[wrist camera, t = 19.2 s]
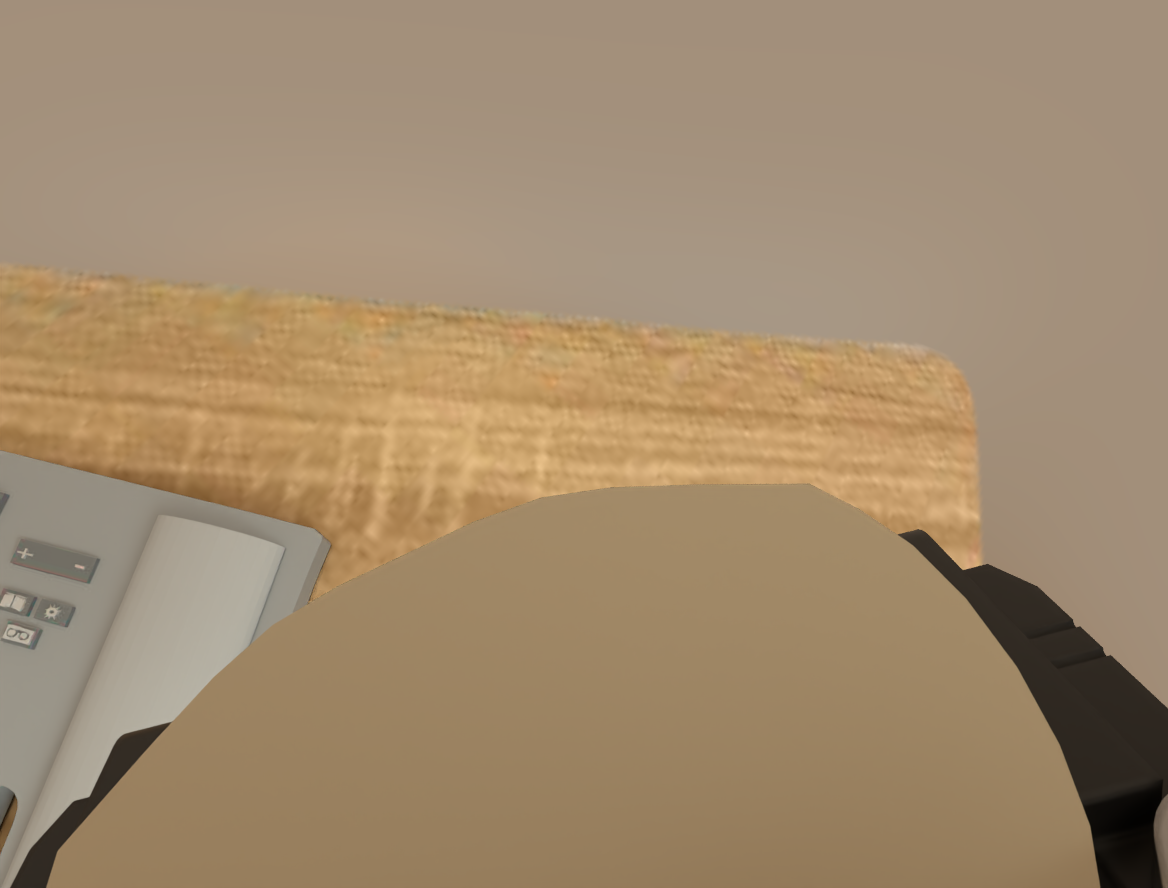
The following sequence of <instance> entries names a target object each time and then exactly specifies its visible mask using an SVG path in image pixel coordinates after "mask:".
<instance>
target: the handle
mask: <svg viewBox="0 0 1168 888" xmlns="http://www.w3.org/2000/svg"><path fill="white" fill-rule="evenodd" d="M46 888H1100V882H1099V876H1098V870H1097V864H1096V858H1095V852H1094V846H1093V840H1092V834H1091V828H1090V824H1089V822H1088V819H1087V816H1086V814H1085V811H1084V808H1083V806H1082V803H1081V800H1080V798H1079V795H1078V792H1077V790H1076V787H1075V784H1074V782H1073V779H1072V776H1071V774H1070V771H1069V768H1068V766H1067V763H1066V760H1065V758H1064V755H1063V752H1062V750H1061V747H1060V745H1059V743H1058V741H1057V739H1056V737H1055V735H1054V734H1053V732H1052V730H1051V728H1050V726H1049V724H1048V723H1047V721H1046V719H1045V717H1044V715H1043V714H1042V712H1041V710H1040V708H1039V706H1038V704H1037V703H1036V701H1035V699H1034V697H1033V695H1032V693H1031V692H1030V690H1029V688H1028V686H1027V684H1026V682H1025V681H1024V679H1023V677H1022V675H1021V673H1020V672H1019V670H1018V668H1017V666H1016V665H1015V664H1014V662H1013V661H1012V660H1011V658H1010V657H1009V656H1008V654H1007V653H1006V652H1005V650H1004V649H1003V648H1002V646H1001V645H1000V643H999V642H998V641H997V639H996V638H995V637H994V635H993V634H992V633H991V631H990V630H989V629H988V627H987V626H986V625H985V623H984V622H983V621H982V619H981V618H980V617H979V615H978V614H977V613H976V611H975V610H974V609H973V607H972V606H971V605H970V603H969V602H968V601H967V599H966V598H965V597H964V596H963V595H962V594H961V593H960V592H959V591H958V590H957V589H956V588H955V587H954V586H953V585H952V584H951V583H950V582H949V581H948V580H947V579H946V578H945V577H944V576H943V575H942V574H941V573H940V572H939V571H938V570H937V569H936V568H935V567H934V566H933V565H932V564H931V563H930V562H929V561H928V560H927V559H926V558H925V557H924V556H923V555H922V554H921V553H920V552H919V551H918V550H917V549H916V548H915V547H914V546H913V545H912V544H910V543H909V542H907V541H906V540H904V539H903V538H901V537H900V536H898V535H897V534H895V533H894V532H892V531H891V530H890V529H888V528H887V527H885V526H884V525H882V524H881V523H879V522H878V521H876V520H875V519H873V518H872V517H870V516H869V515H867V514H866V513H864V512H863V511H861V510H860V509H858V508H856V507H854V506H852V505H850V504H848V503H846V502H844V501H842V500H840V499H838V498H836V497H834V496H832V495H830V494H828V493H826V492H824V491H822V490H821V489H819V488H817V487H815V486H813V485H811V484H702V485H668V486H638V487H611V488H604V489H597V490H590V491H583V492H576V493H569V494H563V495H556V496H549V497H542V498H539V499H536V500H533V501H530V502H528V503H525V504H522V505H519V506H516V507H514V508H511V509H508V510H505V511H502V512H500V513H497V514H494V515H491V516H489V517H486V518H483V519H480V520H477V521H475V522H472V523H470V524H468V525H466V526H464V527H462V528H460V529H457V530H455V531H453V532H451V533H449V534H447V535H445V536H443V537H441V538H438V539H436V540H434V541H432V542H430V543H428V544H426V545H424V546H422V547H419V548H417V549H415V550H413V551H411V552H409V553H407V554H405V555H403V556H400V557H398V558H396V559H394V560H392V561H390V562H388V563H386V564H383V565H381V566H379V567H377V568H375V569H373V570H371V571H369V572H367V573H364V574H362V575H360V576H358V577H356V578H354V579H352V580H350V581H348V582H345V583H343V584H341V585H339V586H337V587H335V588H334V589H332V590H330V591H329V592H327V593H325V594H324V595H322V596H320V597H319V598H317V599H315V600H314V601H312V602H310V603H309V604H307V605H305V606H304V607H302V608H300V609H299V610H297V611H295V612H293V613H292V614H290V615H288V616H287V617H285V618H283V619H282V620H280V621H278V622H277V623H275V624H273V625H272V626H271V627H270V628H268V629H267V630H266V631H265V632H264V633H263V634H262V635H261V636H259V637H258V638H257V639H256V640H255V641H254V642H253V643H252V644H250V645H249V646H248V647H247V648H246V649H245V650H244V651H243V652H241V653H240V654H239V655H238V656H237V657H236V658H235V659H233V660H232V661H231V662H230V663H229V664H228V665H227V666H226V667H224V668H223V669H222V670H221V671H220V672H219V673H218V674H217V675H215V676H214V677H213V678H212V679H211V680H210V682H209V683H208V684H207V685H206V686H205V687H204V688H203V689H202V690H201V691H200V692H199V693H198V695H197V696H196V697H195V698H194V699H193V700H192V701H191V702H190V703H189V704H188V705H187V706H186V708H185V709H184V710H183V711H182V712H181V713H180V714H179V715H178V716H177V717H176V718H175V719H174V721H173V722H172V723H171V724H170V725H169V726H168V727H167V728H166V729H165V730H164V731H163V732H162V734H161V735H160V736H159V737H158V738H157V739H156V740H155V741H154V742H153V743H152V744H151V745H150V747H149V748H148V749H147V750H146V751H145V752H144V753H143V754H142V756H141V757H140V758H139V759H138V760H137V761H136V762H135V764H134V765H133V766H132V767H131V768H130V769H129V770H128V771H127V773H126V774H125V775H124V776H123V777H122V778H121V779H120V781H119V782H118V783H117V784H116V785H115V786H114V787H113V789H112V790H111V791H110V792H109V793H108V794H107V795H106V796H105V798H104V799H103V800H102V801H101V802H100V803H99V804H98V806H97V807H96V808H95V809H94V810H93V811H92V812H91V814H90V815H89V816H88V817H87V818H86V819H85V820H84V822H83V823H82V824H81V825H80V826H79V827H78V828H77V829H76V831H75V832H74V833H73V834H72V835H71V836H70V837H69V839H68V840H67V841H66V842H65V843H64V844H63V845H62V847H61V848H60V849H59V850H58V851H57V855H56V858H55V861H54V864H53V868H52V871H51V874H50V877H49V881H48V884H47V887H46Z"/></svg>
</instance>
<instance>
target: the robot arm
mask: <svg viewBox="0 0 1168 888" xmlns="http://www.w3.org/2000/svg"><path fill="white" fill-rule="evenodd" d="M898 536H900V537H901V538H903V539H904V540H906V541H907V542H909V543H910V544H912V545H913V546H914V547H915V548H916V549H917V550H918V551H919V552H920V553H921V554H922V555H923V556H924V557H925V558H926V559H927V560H928V561H929V562H930V563H931V564H932V565H933V566H934V567H935V568H936V569H937V570H938V571H939V572H940V573H941V574H942V575H943V576H944V577H945V578H946V579H947V580H948V581H949V582H950V583H951V584H952V585H953V586H954V587H955V588H956V589H957V590H958V591H959V592H960V593H961V594H962V595H963V596H964V597H965V598H966V599H967V601H968V602H969V603H970V605H971V606H972V607H973V609H974V610H975V611H976V613H977V614H978V615H979V617H980V618H981V619H982V621H983V622H984V623H985V625H986V626H987V627H988V629H989V630H990V631H991V633H992V634H993V635H994V637H995V638H996V639H997V641H998V642H999V643H1000V645H1001V646H1002V648H1003V649H1004V650H1005V652H1006V653H1007V654H1008V656H1009V657H1010V658H1011V660H1012V661H1013V662H1014V664H1015V665H1016V666H1017V668H1018V670H1019V672H1020V673H1021V675H1022V677H1023V679H1024V681H1025V682H1026V684H1027V686H1028V688H1029V690H1030V692H1031V693H1032V695H1033V697H1034V699H1035V701H1036V703H1037V704H1038V706H1039V708H1040V710H1041V712H1042V714H1043V715H1044V717H1045V719H1046V721H1047V723H1048V724H1049V726H1050V728H1051V730H1052V732H1053V734H1054V735H1055V737H1056V739H1057V741H1058V743H1059V745H1060V747H1061V750H1062V752H1063V755H1064V758H1065V760H1066V763H1067V766H1068V768H1069V771H1070V774H1071V776H1072V779H1073V782H1074V784H1075V787H1076V790H1077V792H1078V795H1079V798H1080V800H1081V803H1082V806H1083V808H1084V811H1085V814H1086V816H1087V819H1088V822H1089V824H1090V828H1091V834H1092V840H1093V846H1094V852H1095V858H1096V864H1097V870H1098V876H1099V882H1100V888H1168V708H1167V707H1166V706H1165V705H1163V704H1162V703H1161V702H1160V701H1159V700H1158V699H1157V698H1156V697H1155V696H1154V695H1153V694H1152V693H1151V692H1150V691H1148V690H1147V689H1146V688H1145V687H1144V686H1143V685H1142V684H1141V683H1140V682H1139V681H1138V680H1137V679H1135V677H1134V676H1132V675H1131V674H1130V673H1129V672H1128V671H1127V670H1126V669H1125V668H1124V667H1123V666H1122V665H1121V664H1120V663H1119V662H1117V661H1116V660H1115V659H1114V658H1113V657H1112V656H1111V655H1110V656H1106V655H1105V653H1104V651H1103V647H1102V646H1100V645H1099V644H1098V643H1097V642H1096V641H1095V640H1094V639H1093V638H1092V637H1091V636H1090V635H1089V634H1088V633H1086V632H1085V631H1084V630H1083V629H1082V628H1081V627H1075V625H1074V623H1073V619H1072V618H1071V617H1069V616H1068V615H1067V614H1066V613H1065V612H1064V611H1063V610H1062V609H1061V608H1060V607H1059V606H1058V605H1057V604H1056V603H1055V602H1053V601H1052V600H1051V599H1050V598H1049V597H1048V596H1047V595H1046V594H1045V593H1044V592H1043V591H1042V590H1041V589H1039V588H1038V587H1037V586H1035V585H1033V584H1031V583H1028V582H1026V581H1024V580H1022V579H1020V578H1017V577H1015V576H1013V575H1011V574H1009V573H1006V572H1004V571H1002V570H1000V569H997V568H995V567H993V566H991V565H989V564H986V565H982V566H978V567H974V568H970V569H966V570H962V569H961V568H960V567H959V566H958V565H957V564H956V563H955V562H954V561H953V560H952V559H951V558H950V557H949V556H948V555H947V554H946V552H945V551H944V550H943V549H942V548H941V547H940V546H939V545H938V544H937V543H936V542H935V541H934V540H933V539H932V538H931V537H930V536H929V535H928V534H927V533H926V532H924V531H922V530H919V529H918V530H914V531H910V532H906V533H902V534H898ZM172 722H173V721H172ZM172 722H168V723H164V724H160V725H157V726H153V727H149V728H145V729H141V730H137V731H133V732H129V733H125V734H123V735H122V736H120V737H119V739H118V740H117V741H116V743H115V744H114V746H113V748H112V750H111V752H110V754H109V756H108V759H107V761H106V763H105V765H104V767H103V769H102V771H101V773H100V775H99V778H98V780H97V782H96V784H95V786H94V788H93V790H92V792H91V795H90V797H87V798H83V799H79V800H76V801H73V802H72V803H71V804H70V805H69V807H68V808H67V809H66V810H65V811H64V812H63V813H62V814H61V815H60V817H59V818H58V819H57V820H56V821H55V822H54V823H53V824H52V825H51V826H50V828H49V829H48V830H47V831H46V832H45V833H44V834H43V835H42V836H41V837H40V839H39V840H38V841H37V842H36V843H35V844H34V845H33V846H32V847H31V849H30V850H29V852H28V854H27V856H26V858H25V860H24V862H23V863H22V865H21V867H20V869H19V871H18V873H17V875H16V877H15V879H14V881H13V883H12V885H11V887H10V888H46V887H47V884H48V881H49V877H50V874H51V871H52V868H53V864H54V861H55V858H56V855H57V851H58V850H59V849H60V848H61V847H62V845H63V844H64V843H65V842H66V841H67V840H68V839H69V837H70V836H71V835H72V834H73V833H74V832H75V831H76V829H77V828H78V827H79V826H80V825H81V824H82V823H83V822H84V820H85V819H86V818H87V817H88V816H89V815H90V814H91V812H92V811H93V810H94V809H95V808H96V807H97V806H98V804H99V803H100V802H101V801H102V800H103V799H104V798H105V796H106V795H107V794H108V793H109V792H110V791H111V790H112V789H113V787H114V786H115V785H116V784H117V783H118V782H119V781H120V779H121V778H122V777H123V776H124V775H125V774H126V773H127V771H128V770H129V769H130V768H131V767H132V766H133V765H134V764H135V762H136V761H137V760H138V759H139V758H140V757H141V756H142V754H143V753H144V752H145V751H146V750H147V749H148V748H149V747H150V745H151V744H152V743H153V742H154V741H155V740H156V739H157V738H158V737H159V736H160V735H161V734H162V732H163V731H164V730H165V729H166V728H167V727H168V726H169V725H170V724H171V723H172Z"/></svg>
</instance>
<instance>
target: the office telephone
mask: <svg viewBox="0 0 1168 888" xmlns="http://www.w3.org/2000/svg"><path fill="white" fill-rule="evenodd" d="M330 546H331V544H330V542H329V541H328V540H327V539H325V538H324V536H323V535H321V534H320V533H319V532H318V531H317V530H316V529H313V528H309V527H305V526H301V525H298V524H294V523H290V522H286V521H282V520H278V519H274V518H271V517H267V516H263V515H259V514H255V513H251V512H247V511H244V510H240V509H236V508H231V507H227V506H223V505H219V504H215V503H211V502H207V501H203V500H199V499H195V498H191V497H187V496H183V495H179V494H175V493H171V492H167V491H163V490H159V489H155V488H151V487H147V486H143V485H138V484H134V483H130V482H126V481H122V480H118V479H114V478H110V477H106V476H102V475H98V474H94V473H90V472H86V471H82V470H78V469H74V468H70V467H66V466H62V465H58V464H54V463H49V462H45V461H41V460H37V459H33V458H29V457H25V456H21V455H17V454H13V453H9V452H5V451H1V450H0V825H1V823H2V821H3V818H4V816H5V814H6V812H7V809H8V807H9V805H10V802H11V800H12V798H13V796H14V794H15V796H16V798H17V801H18V809H17V812H16V815H15V819H14V822H13V825H12V827H11V830H10V832H9V835H8V837H7V840H6V842H5V844H4V847H3V849H2V852H1V854H0V888H10V887H11V885H12V883H13V881H14V879H15V877H16V875H17V873H18V871H19V869H20V867H21V865H22V863H23V862H24V860H25V858H26V856H27V854H28V852H29V850H30V849H31V847H32V846H33V845H34V844H35V843H36V842H37V841H38V840H39V839H40V837H41V836H42V835H43V834H44V833H45V832H46V831H47V830H48V829H49V828H50V826H51V825H52V824H53V823H54V822H55V821H56V820H57V819H58V818H59V817H60V815H61V814H62V813H63V812H64V811H65V810H66V809H67V808H68V807H69V805H70V804H71V803H72V802H73V801H76V800H79V799H83V798H87V797H90V795H91V792H92V790H93V788H94V786H95V784H96V782H97V780H98V778H99V775H100V773H101V771H102V769H103V767H104V765H105V763H106V761H107V759H108V756H109V754H110V752H111V750H112V748H113V746H114V744H115V743H116V741H117V740H118V739H119V737H120V736H122V735H123V734H125V733H129V732H133V731H137V730H141V729H145V728H149V727H153V726H157V725H160V724H164V723H168V722H172V721H174V719H175V718H176V717H177V716H178V715H179V714H180V713H181V712H182V711H183V710H184V709H185V708H186V706H187V705H188V704H189V703H190V702H191V701H192V700H193V699H194V698H195V697H196V696H197V695H198V693H199V692H200V691H201V690H202V689H203V688H204V687H205V686H206V685H207V684H208V683H209V682H210V680H211V679H212V678H213V677H214V676H215V675H217V674H218V673H219V672H220V671H221V670H222V669H223V668H224V667H226V666H227V665H228V664H229V663H230V662H231V661H232V660H233V659H235V658H236V657H237V656H238V655H239V654H240V653H241V652H243V651H244V650H245V649H246V648H247V647H248V646H249V645H250V644H252V643H253V642H254V641H255V640H256V639H257V638H258V637H259V636H261V635H262V634H263V633H264V632H265V631H266V630H267V629H268V628H270V627H271V626H272V625H273V624H275V623H277V622H278V621H280V620H282V619H283V618H285V617H287V616H288V615H290V614H292V613H293V612H295V611H297V610H299V609H300V608H302V607H304V606H305V605H307V603H308V600H309V598H310V595H311V592H312V590H313V587H314V585H315V582H316V580H317V577H318V575H319V572H320V570H321V568H322V565H323V563H324V560H325V558H326V556H327V553H328V551H329V548H330Z"/></svg>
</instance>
